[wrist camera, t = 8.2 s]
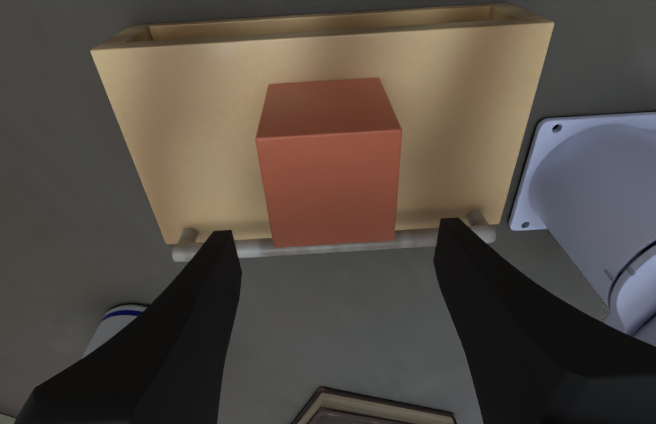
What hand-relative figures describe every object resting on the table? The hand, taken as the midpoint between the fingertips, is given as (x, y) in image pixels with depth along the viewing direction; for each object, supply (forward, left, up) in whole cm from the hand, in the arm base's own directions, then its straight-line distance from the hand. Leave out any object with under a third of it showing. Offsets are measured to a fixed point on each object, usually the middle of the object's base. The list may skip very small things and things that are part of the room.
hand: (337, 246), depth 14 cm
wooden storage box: (0, -1, -10) cm, 10 cm away
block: (0, -2, -6) cm, 6 cm away
